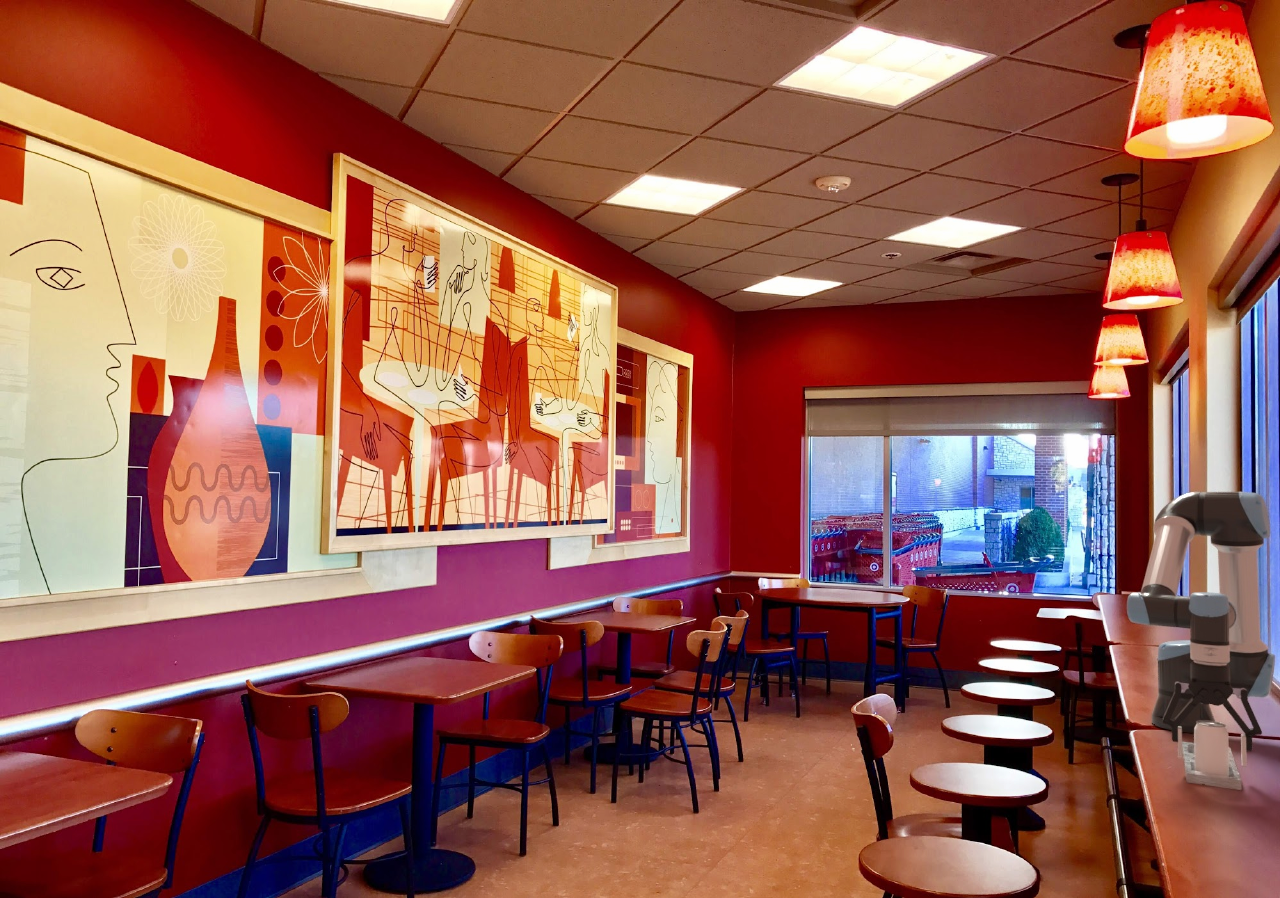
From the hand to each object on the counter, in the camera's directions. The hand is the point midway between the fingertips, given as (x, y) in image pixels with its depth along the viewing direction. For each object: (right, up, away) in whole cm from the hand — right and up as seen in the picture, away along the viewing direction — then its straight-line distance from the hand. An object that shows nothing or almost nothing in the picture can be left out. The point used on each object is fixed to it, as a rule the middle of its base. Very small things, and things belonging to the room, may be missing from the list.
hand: (1211, 761), depth 202 cm
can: (0, -4, 0) cm, 4 cm away
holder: (+4, -4, +7) cm, 9 cm away
